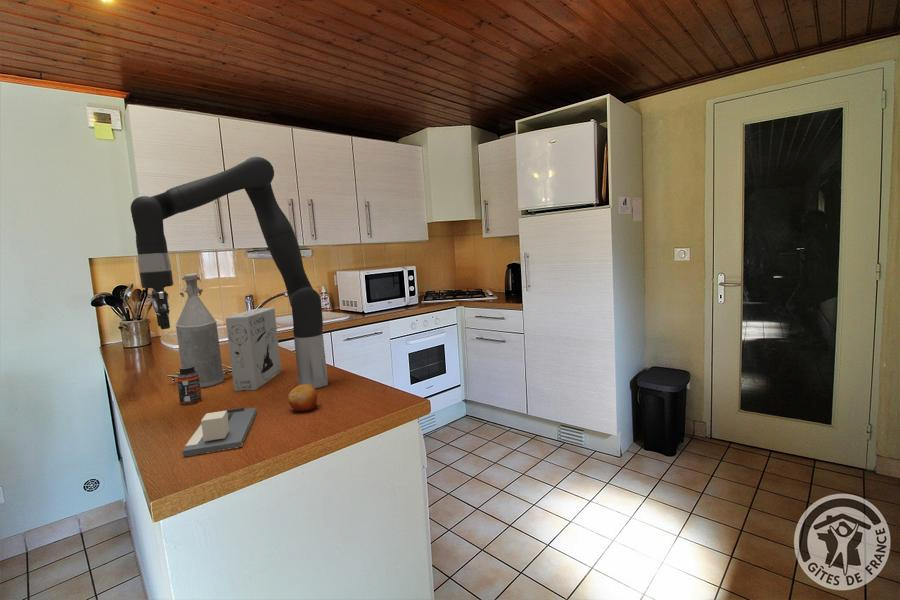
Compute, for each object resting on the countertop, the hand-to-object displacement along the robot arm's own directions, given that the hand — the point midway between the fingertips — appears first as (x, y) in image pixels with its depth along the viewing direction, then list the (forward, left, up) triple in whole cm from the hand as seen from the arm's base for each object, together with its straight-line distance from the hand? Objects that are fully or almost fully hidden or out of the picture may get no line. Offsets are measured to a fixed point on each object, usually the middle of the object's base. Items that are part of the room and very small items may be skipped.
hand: (164, 327), depth 125 cm
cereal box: (-19, -26, -26) cm, 41 cm away
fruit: (-36, +12, -26) cm, 46 cm away
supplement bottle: (-1, -11, -26) cm, 28 cm away
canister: (+1, -34, -26) cm, 43 cm away
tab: (-17, +28, -24) cm, 40 cm away
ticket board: (-17, +21, -26) cm, 37 cm away
